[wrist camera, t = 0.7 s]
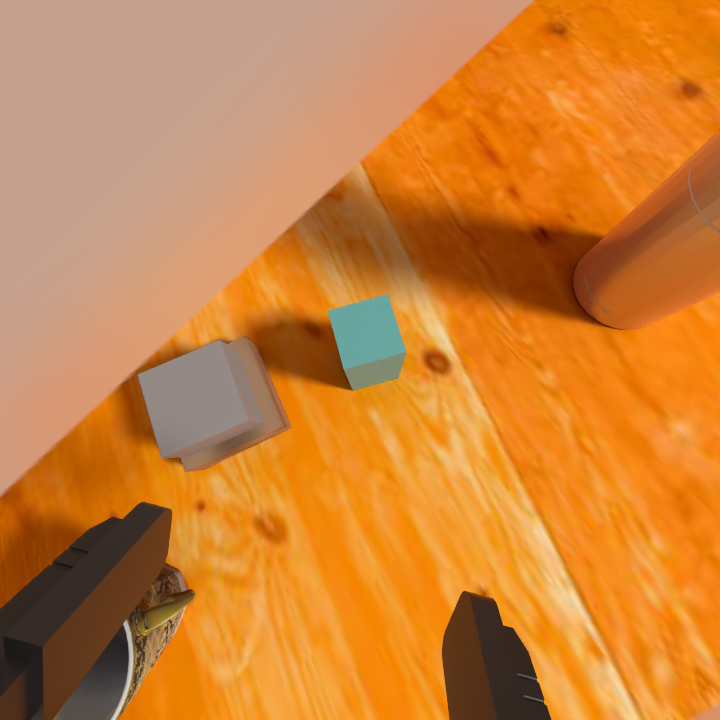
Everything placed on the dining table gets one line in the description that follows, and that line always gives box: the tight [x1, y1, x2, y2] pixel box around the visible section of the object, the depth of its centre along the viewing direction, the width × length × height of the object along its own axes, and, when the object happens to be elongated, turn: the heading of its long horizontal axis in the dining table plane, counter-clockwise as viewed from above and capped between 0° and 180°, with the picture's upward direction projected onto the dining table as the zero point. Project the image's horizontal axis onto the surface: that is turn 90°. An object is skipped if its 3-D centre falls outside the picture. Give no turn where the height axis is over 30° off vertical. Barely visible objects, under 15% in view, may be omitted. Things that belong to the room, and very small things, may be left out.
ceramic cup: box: [53, 564, 195, 720], centre depth 27 cm, size 13×10×10 cm
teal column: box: [328, 294, 406, 391], centre depth 31 cm, size 5×5×10 cm
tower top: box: [138, 340, 264, 458], centre depth 30 cm, size 7×7×4 cm
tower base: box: [180, 336, 292, 472], centre depth 34 cm, size 9×9×4 cm
